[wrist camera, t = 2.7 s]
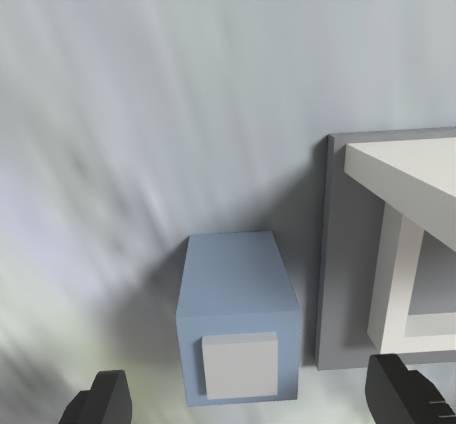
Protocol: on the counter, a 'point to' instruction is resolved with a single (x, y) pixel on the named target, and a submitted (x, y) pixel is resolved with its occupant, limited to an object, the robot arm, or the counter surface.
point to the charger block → (237, 321)
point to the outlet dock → (388, 249)
